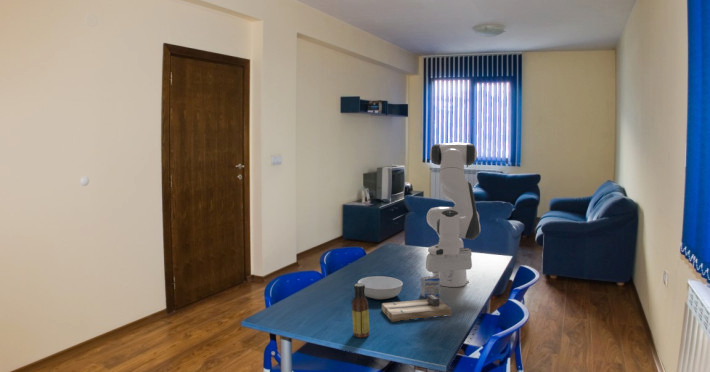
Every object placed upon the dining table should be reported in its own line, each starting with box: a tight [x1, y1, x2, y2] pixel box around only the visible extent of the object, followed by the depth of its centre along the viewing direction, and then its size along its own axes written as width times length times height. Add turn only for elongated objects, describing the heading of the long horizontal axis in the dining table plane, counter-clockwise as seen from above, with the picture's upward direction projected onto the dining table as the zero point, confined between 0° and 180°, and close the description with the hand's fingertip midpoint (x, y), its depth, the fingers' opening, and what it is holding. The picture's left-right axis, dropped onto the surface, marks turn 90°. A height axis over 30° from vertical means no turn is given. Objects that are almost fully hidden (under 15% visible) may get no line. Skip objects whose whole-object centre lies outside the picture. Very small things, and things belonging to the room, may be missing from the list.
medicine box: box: [420, 276, 441, 298], centre depth 243 cm, size 8×4×9 cm, turn 105°
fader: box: [426, 295, 441, 306], centre depth 222 cm, size 6×3×3 cm, turn 15°
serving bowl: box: [357, 275, 404, 300], centre depth 242 cm, size 21×21×7 cm
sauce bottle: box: [351, 282, 370, 338], centre depth 196 cm, size 6×6×20 cm
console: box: [381, 298, 452, 323], centre depth 220 cm, size 14×26×3 cm, turn 105°
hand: (448, 280), depth 222 cm, fingers closed
